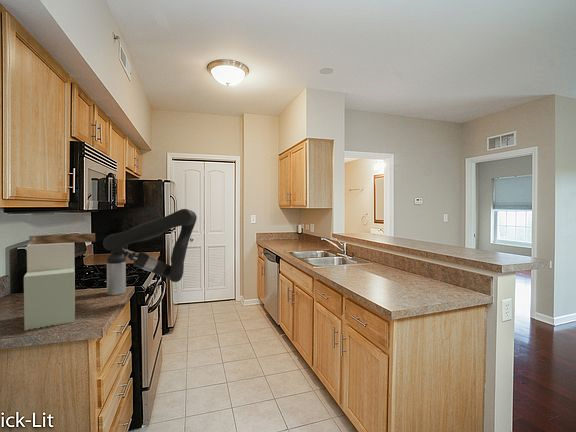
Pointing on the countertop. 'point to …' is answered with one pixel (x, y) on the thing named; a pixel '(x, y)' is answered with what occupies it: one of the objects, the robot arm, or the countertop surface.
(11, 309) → the countertop surface
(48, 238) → the walnut block
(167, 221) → the robot arm
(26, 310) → the stepped stand
